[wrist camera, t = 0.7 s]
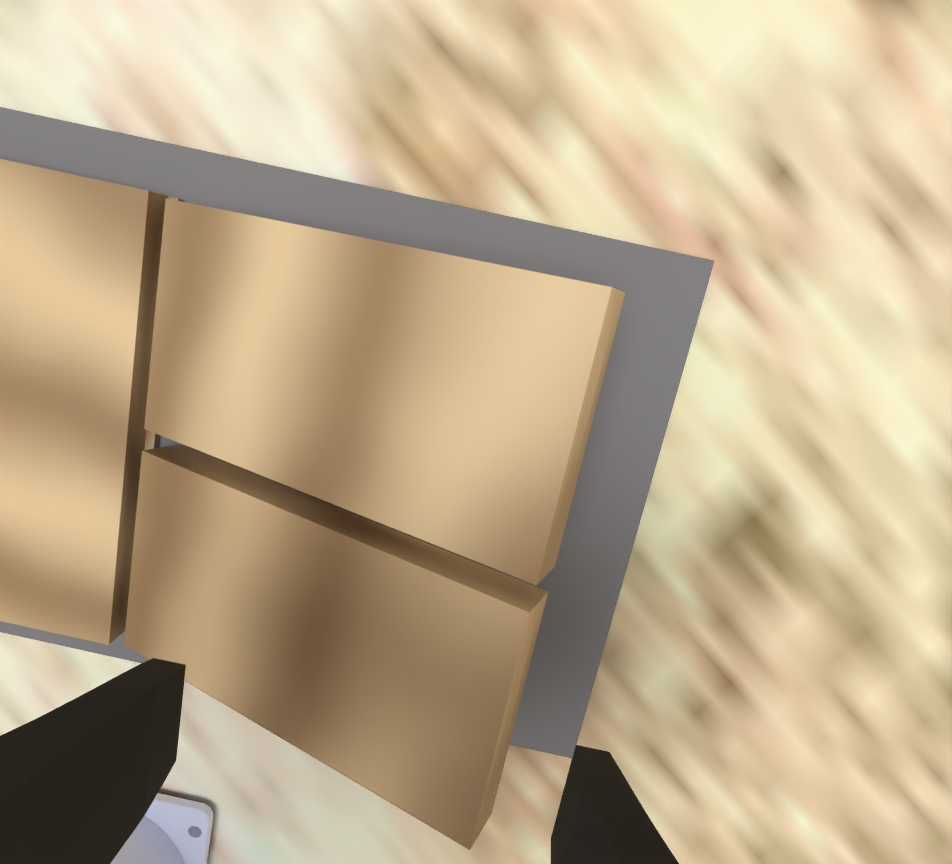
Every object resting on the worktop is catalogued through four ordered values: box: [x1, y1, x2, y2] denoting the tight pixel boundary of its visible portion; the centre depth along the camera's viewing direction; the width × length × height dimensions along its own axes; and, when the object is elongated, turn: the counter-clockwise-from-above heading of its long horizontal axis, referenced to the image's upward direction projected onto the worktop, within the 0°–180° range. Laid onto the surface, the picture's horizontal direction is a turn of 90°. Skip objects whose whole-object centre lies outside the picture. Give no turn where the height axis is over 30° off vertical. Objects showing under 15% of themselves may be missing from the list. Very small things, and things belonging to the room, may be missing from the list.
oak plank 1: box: [144, 198, 625, 586], centre depth 17 cm, size 13×7×1 cm, turn 78°
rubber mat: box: [0, 107, 714, 758], centre depth 21 cm, size 18×24×1 cm
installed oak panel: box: [0, 159, 184, 645], centre depth 20 cm, size 14×8×1 cm, turn 168°
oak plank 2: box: [124, 444, 548, 850], centre depth 18 cm, size 13×7×1 cm, turn 78°
